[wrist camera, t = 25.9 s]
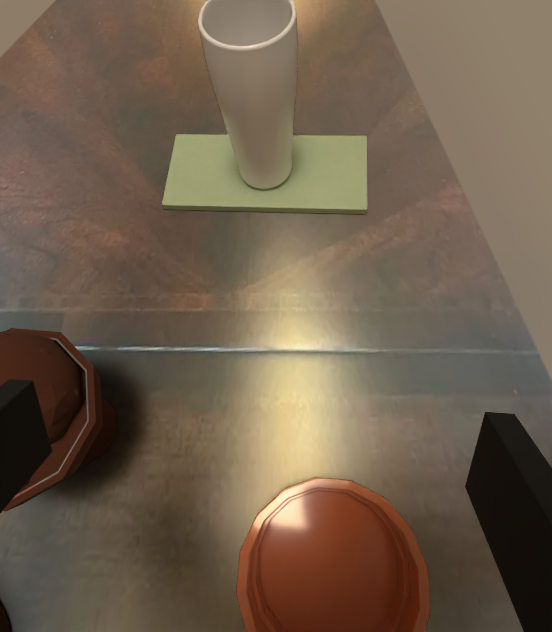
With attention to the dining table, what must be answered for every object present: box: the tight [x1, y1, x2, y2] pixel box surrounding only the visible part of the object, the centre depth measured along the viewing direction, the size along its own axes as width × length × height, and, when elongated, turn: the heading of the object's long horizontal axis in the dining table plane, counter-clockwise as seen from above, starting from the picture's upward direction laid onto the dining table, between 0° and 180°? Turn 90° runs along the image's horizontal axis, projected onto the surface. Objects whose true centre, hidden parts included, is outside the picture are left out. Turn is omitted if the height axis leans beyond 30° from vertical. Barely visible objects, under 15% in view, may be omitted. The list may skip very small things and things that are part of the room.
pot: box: [236, 477, 430, 632], centre depth 27 cm, size 11×11×6 cm
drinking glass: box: [198, 0, 298, 189], centre depth 34 cm, size 7×7×15 cm
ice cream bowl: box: [0, 328, 117, 511], centre depth 27 cm, size 11×11×15 cm
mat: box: [162, 134, 367, 214], centre depth 42 cm, size 20×9×1 cm, turn 86°
